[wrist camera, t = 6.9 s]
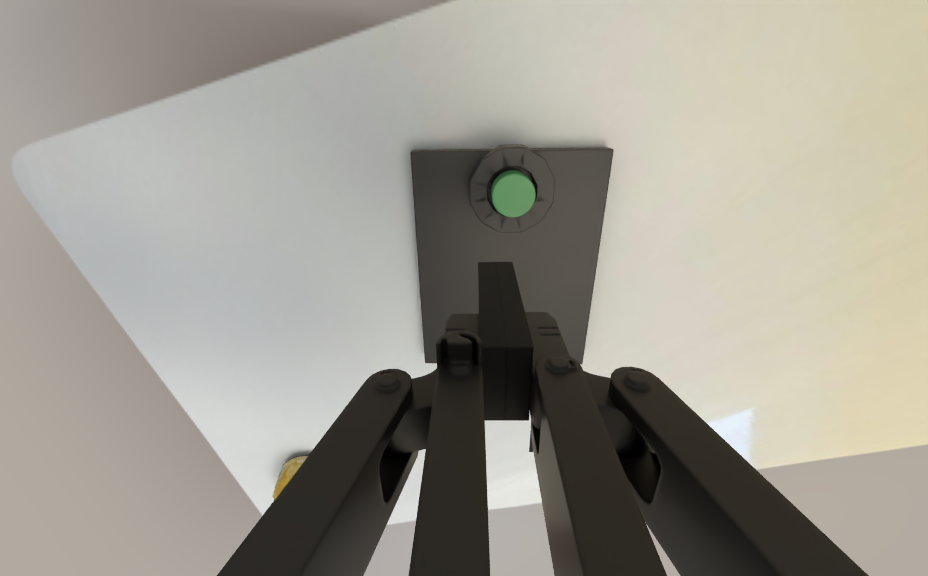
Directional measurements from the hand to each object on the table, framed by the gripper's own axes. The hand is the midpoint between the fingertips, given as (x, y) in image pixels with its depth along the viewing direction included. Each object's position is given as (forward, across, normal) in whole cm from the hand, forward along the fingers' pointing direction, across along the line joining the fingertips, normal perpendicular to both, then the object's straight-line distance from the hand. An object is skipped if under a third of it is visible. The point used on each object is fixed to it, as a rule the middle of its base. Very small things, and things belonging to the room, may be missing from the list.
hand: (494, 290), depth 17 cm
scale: (+14, +2, -4) cm, 14 cm away
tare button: (+11, +2, +2) cm, 11 cm away
